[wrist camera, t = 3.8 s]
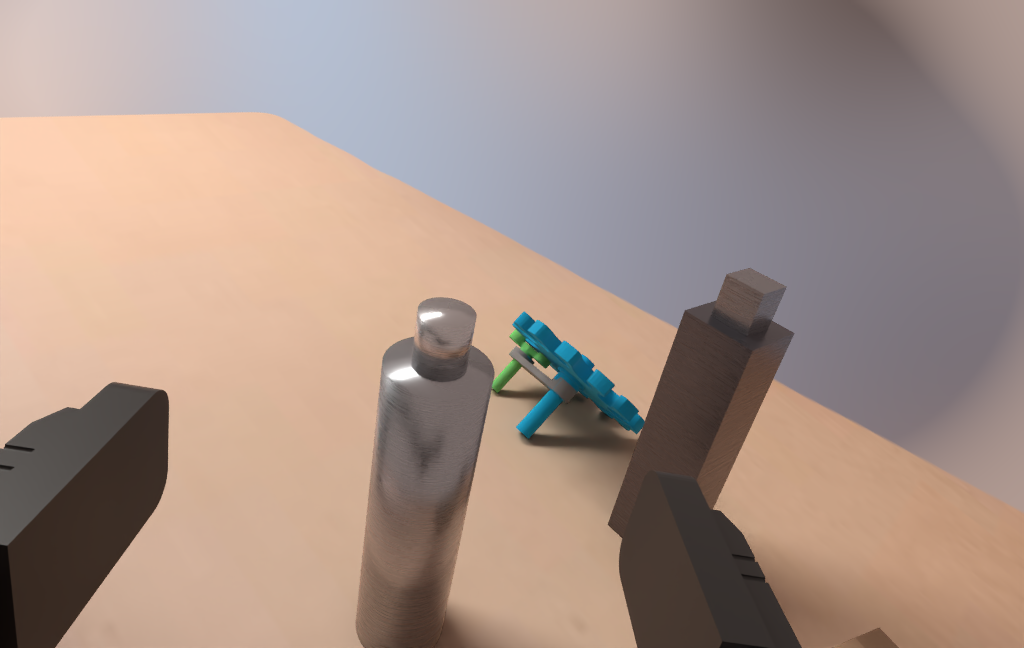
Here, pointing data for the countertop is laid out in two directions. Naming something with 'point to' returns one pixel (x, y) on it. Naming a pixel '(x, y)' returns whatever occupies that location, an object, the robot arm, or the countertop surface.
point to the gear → (561, 377)
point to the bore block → (869, 641)
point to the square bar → (709, 389)
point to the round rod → (421, 475)
